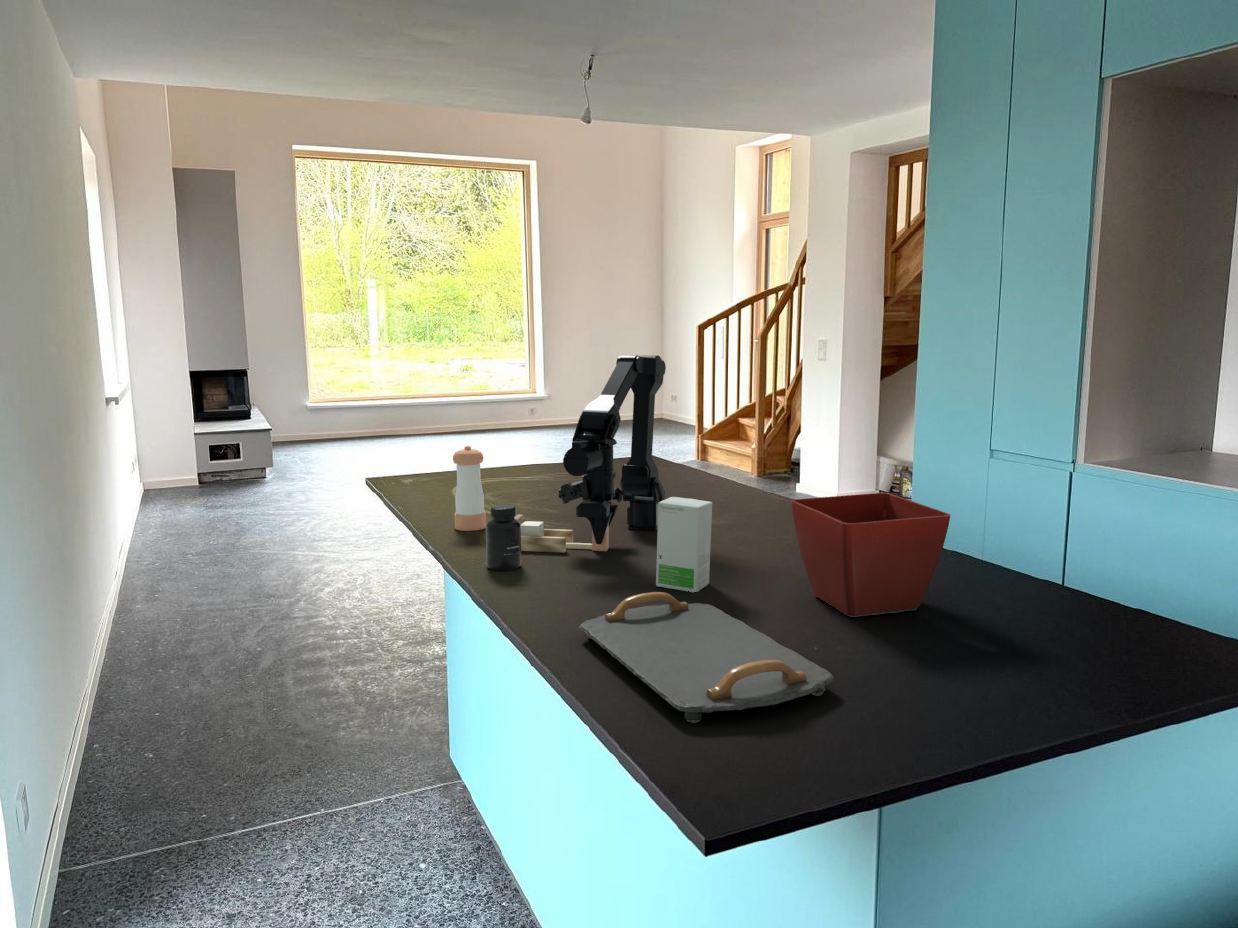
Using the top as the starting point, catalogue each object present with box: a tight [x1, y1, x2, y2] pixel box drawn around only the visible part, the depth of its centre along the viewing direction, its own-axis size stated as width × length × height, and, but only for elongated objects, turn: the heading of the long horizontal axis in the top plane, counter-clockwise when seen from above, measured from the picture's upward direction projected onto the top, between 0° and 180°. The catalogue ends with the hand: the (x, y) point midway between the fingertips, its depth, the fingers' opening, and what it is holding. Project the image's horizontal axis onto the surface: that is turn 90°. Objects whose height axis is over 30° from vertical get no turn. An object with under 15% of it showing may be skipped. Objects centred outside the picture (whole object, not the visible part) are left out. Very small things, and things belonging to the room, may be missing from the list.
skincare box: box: [655, 496, 713, 593], centre depth 158 cm, size 8×7×16 cm
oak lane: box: [515, 513, 574, 553], centre depth 187 cm, size 12×8×6 cm, turn 80°
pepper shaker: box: [452, 445, 487, 532], centre depth 205 cm, size 7×7×19 cm
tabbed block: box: [521, 520, 610, 552], centre depth 186 cm, size 18×4×5 cm, turn 80°
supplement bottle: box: [485, 504, 522, 572], centre depth 172 cm, size 7×7×12 cm
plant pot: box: [790, 492, 951, 616], centre depth 147 cm, size 19×19×17 cm
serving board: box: [578, 591, 834, 721], centre depth 123 cm, size 39×23×6 cm, turn 24°
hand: (600, 541), depth 185 cm, fingers closed on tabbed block, 3 cm apart
